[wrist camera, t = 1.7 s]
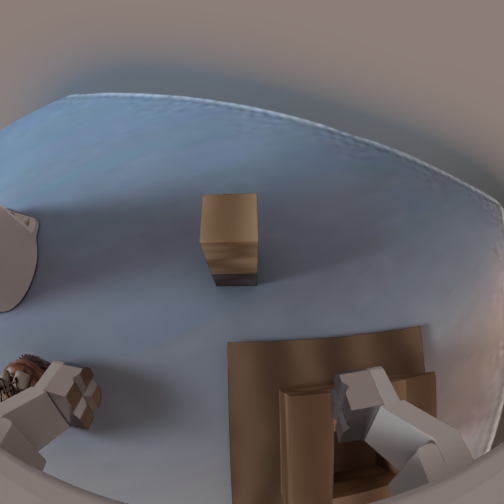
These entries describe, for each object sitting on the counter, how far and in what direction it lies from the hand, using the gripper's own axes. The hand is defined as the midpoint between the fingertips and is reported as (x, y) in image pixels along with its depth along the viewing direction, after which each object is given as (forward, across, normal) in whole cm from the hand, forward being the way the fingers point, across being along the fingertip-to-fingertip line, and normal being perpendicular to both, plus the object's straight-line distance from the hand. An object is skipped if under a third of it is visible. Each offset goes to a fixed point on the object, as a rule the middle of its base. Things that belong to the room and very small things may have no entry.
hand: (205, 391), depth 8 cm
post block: (+10, -10, +20) cm, 25 cm away
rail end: (+24, 0, +6) cm, 25 cm away
